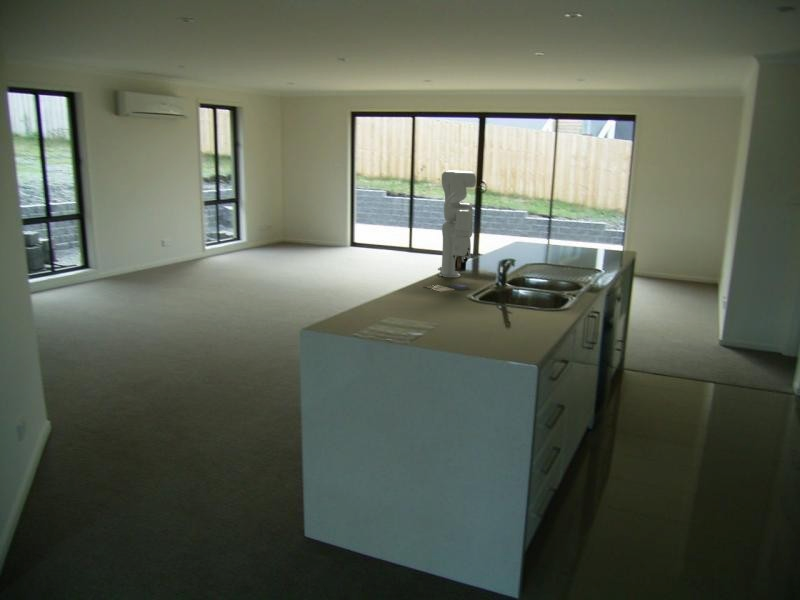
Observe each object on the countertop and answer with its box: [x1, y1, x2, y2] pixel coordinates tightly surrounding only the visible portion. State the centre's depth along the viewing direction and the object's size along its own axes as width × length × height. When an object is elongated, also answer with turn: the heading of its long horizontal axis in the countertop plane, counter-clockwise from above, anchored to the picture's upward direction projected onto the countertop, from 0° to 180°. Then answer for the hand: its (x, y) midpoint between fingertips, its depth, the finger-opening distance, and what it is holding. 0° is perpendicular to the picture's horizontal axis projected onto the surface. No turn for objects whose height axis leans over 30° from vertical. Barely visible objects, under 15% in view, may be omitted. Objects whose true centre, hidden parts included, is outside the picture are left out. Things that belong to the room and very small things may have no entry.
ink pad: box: [447, 283, 471, 291], centre depth 334 cm, size 9×7×2 cm
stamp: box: [455, 256, 467, 273], centre depth 330 cm, size 4×4×8 cm
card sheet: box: [431, 284, 456, 293], centre depth 331 cm, size 14×10×1 cm
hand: (460, 268), depth 331 cm, fingers closed on stamp, 3 cm apart
